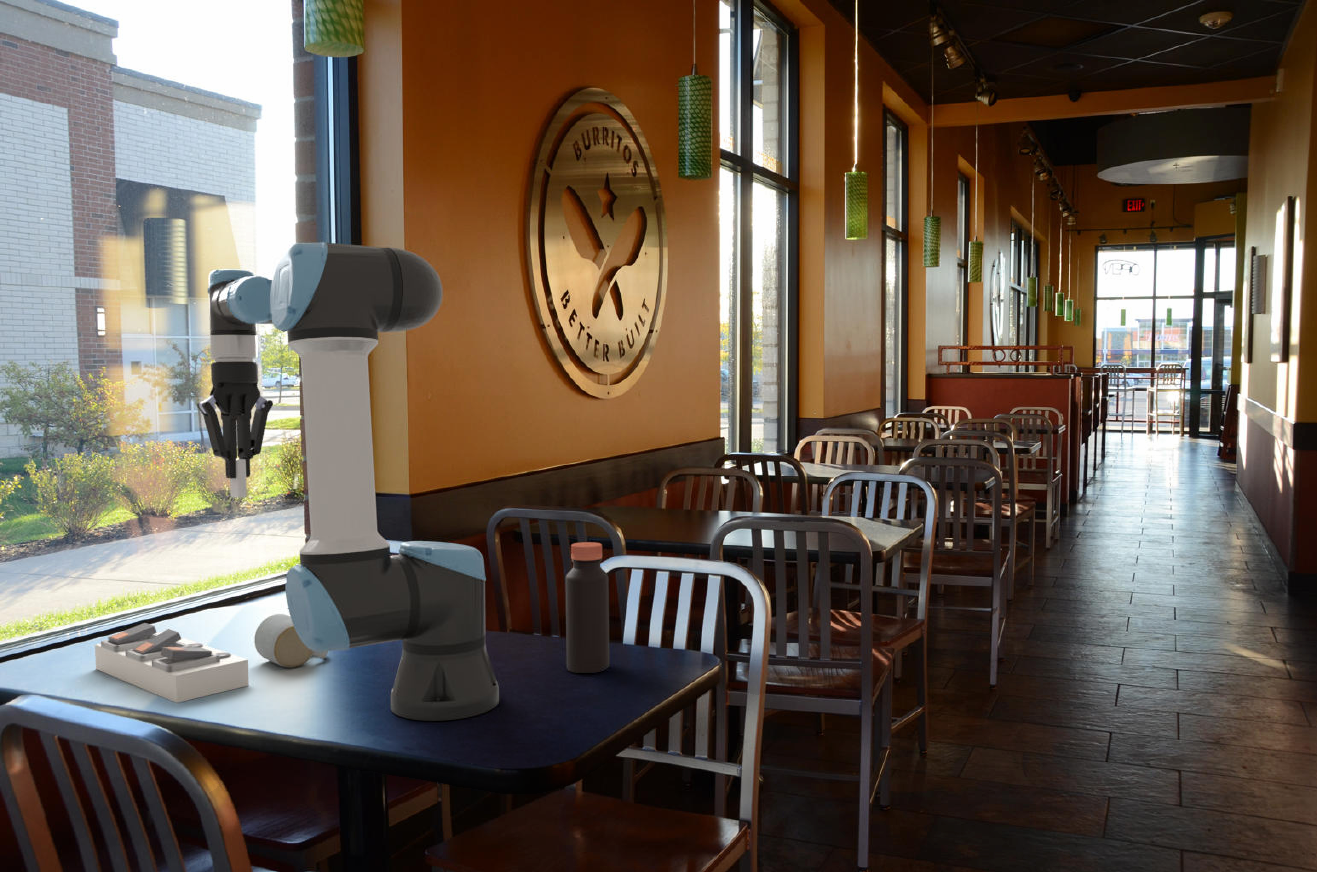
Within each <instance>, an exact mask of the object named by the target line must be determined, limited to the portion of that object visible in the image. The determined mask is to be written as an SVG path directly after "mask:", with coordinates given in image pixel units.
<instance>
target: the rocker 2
mask: <svg viewBox="0 0 1317 872" xmlns="http://www.w3.org/2000/svg"><path fill="white" fill-rule="evenodd" d="M211 655H212V651H210V650H207V649H204V648H201V647H162V651H161V656H164V657H167V658H170V659H201V658H205V657H210V656H211Z"/></svg>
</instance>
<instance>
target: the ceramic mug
mask: <svg viewBox="0 0 1317 872" xmlns="http://www.w3.org/2000/svg"><path fill="white" fill-rule="evenodd" d="M254 633H255V634H254V646H255V647H254V648H255V649H256V652H257V653H258V654H259V656H261V657H262V658H264V659H265V660H269V661H270V662H272V663H274V664H276V665H278V666H280V667H283V668H287V669H288V668H289V669H290V668H297V667H300V666H302V665H304V664H305V663H307V661H309V660H310V659H311V657H314V658H319V659H323V660H324V659H326V658H327V656H328V652H329V651H326V652H316V651H313V650H311V649H309V648H308V647H306V646H305V645H304V643H303V642H302V641H301V639H300V638H299V636H298V634H297V632H296V630H295V628H294V625H293V623H292V620H291V617H290V615H288V614H286V613H285V614H284V613H277V614H272V615H269V616H268V617H266V618H264V619H263V620H262V621H261V623H259V625H258V627H257V628H256V631H255V632H254Z"/></svg>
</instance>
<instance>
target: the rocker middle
mask: <svg viewBox="0 0 1317 872" xmlns="http://www.w3.org/2000/svg"><path fill="white" fill-rule="evenodd" d="M161 632H162V633H160V634H159V635H157V636H155V637H154V638H152V639H150V640H148V641H147V642H145V643H143V644H141V645H140V646H138V647H136V648H135V649H133V651H134V652H137V653H139V654H142V655H144V654H149V653H154V652H159V651H162V647H169V646H170V645H172V644H174V643H176V642H177V641H179V640H181V638H182V637H181V635H180V633H179V632H178V631H176V630H172V629H170V628H167V629H166V630H163V631H161Z"/></svg>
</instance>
